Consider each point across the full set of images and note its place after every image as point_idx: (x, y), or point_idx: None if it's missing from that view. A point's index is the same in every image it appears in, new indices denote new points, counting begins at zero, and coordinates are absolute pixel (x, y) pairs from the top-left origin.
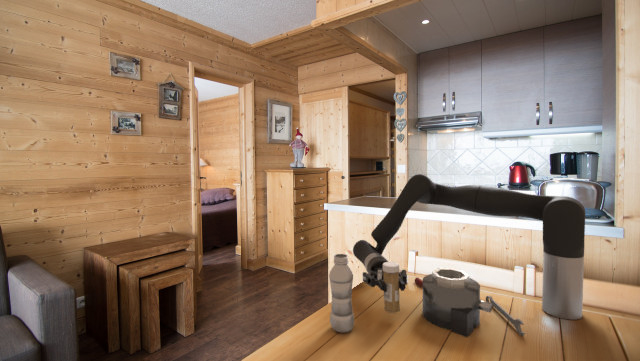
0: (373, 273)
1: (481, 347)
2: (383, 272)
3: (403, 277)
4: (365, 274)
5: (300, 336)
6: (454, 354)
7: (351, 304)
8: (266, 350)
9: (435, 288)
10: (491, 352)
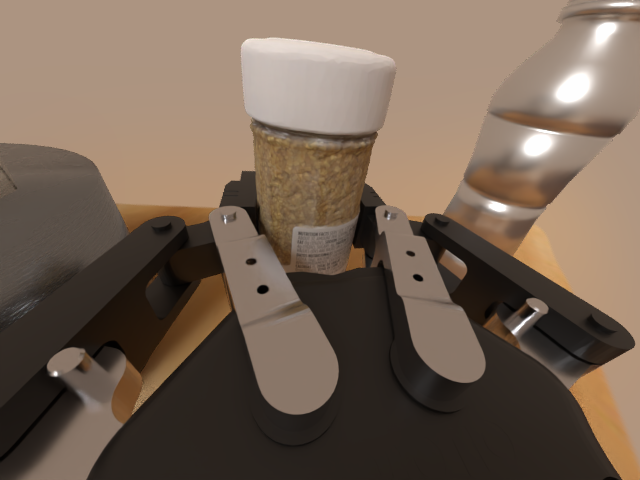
0: (496, 337)
1: (127, 219)
2: (371, 148)
3: (186, 227)
4: (549, 282)
5: (523, 257)
6: (206, 209)
7: (451, 207)
8: (540, 228)
9: (82, 171)
10: (124, 209)
